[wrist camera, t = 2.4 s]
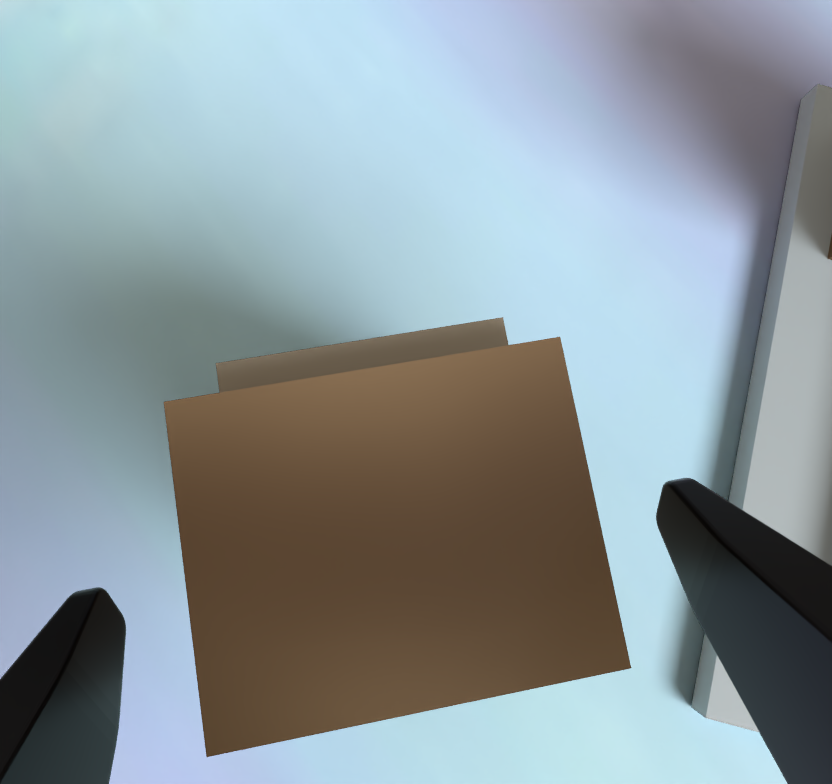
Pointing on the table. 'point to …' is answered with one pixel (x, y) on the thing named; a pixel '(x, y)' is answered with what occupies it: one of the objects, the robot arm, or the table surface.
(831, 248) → the fitted finger
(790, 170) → the base board
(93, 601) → the robot arm
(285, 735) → the notched wooden block
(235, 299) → the table surface
